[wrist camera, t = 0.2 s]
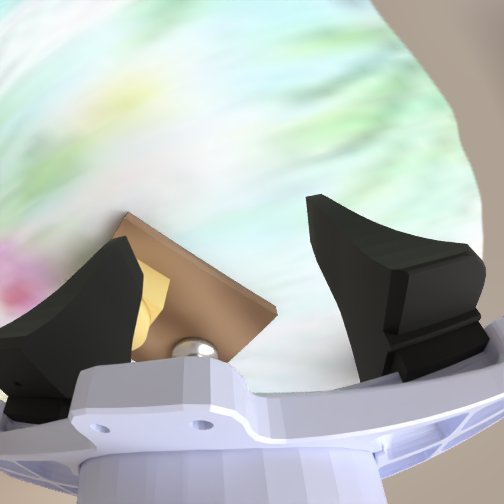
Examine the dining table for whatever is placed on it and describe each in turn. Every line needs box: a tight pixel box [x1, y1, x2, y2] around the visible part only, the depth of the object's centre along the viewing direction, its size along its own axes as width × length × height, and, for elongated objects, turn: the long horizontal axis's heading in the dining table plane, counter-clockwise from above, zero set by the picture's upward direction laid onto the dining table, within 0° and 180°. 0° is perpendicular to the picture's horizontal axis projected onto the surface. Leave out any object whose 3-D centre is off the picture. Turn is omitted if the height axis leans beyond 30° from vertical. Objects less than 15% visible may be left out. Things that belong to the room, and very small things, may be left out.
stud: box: [172, 337, 218, 360], centre depth 25 cm, size 4×4×4 cm
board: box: [111, 212, 278, 363], centre depth 26 cm, size 12×14×1 cm
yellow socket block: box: [132, 258, 170, 350], centre depth 21 cm, size 5×5×6 cm
